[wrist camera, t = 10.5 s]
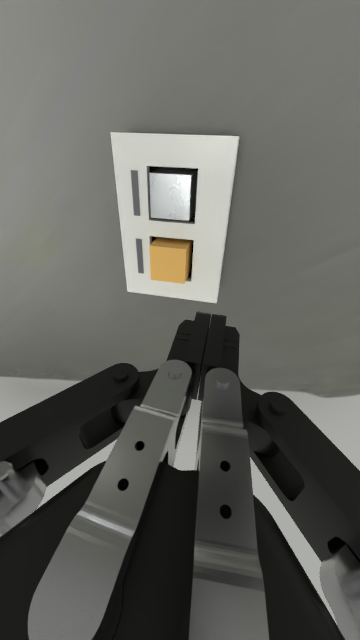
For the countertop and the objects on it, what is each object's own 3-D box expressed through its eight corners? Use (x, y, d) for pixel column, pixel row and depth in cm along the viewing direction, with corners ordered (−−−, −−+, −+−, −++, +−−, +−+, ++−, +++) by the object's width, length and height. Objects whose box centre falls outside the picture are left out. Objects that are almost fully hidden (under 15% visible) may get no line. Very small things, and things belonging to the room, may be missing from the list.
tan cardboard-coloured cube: (158, 235, 36) (149, 245, 32) (192, 238, 35) (186, 249, 31) (159, 267, 38) (150, 279, 35) (190, 270, 38) (184, 283, 34)
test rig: (130, 134, 32) (109, 132, 27) (239, 137, 30) (238, 136, 25) (140, 275, 44) (126, 292, 39) (219, 285, 42) (216, 303, 37)
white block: (160, 169, 32) (149, 172, 28) (197, 171, 31) (191, 175, 28) (160, 209, 35) (151, 217, 31) (194, 212, 34) (189, 220, 30)
